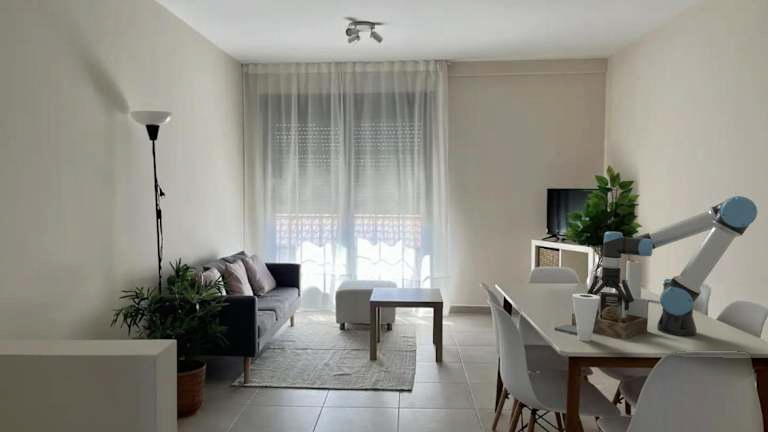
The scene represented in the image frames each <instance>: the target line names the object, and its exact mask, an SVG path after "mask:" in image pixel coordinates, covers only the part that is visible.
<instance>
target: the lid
mask: <svg viewBox="0 0 768 432" xmlns="http://www.w3.org/2000/svg"><path fill="white" fill-rule="evenodd" d="M597 296H599V293H598V294H597ZM633 299H634V302H630V303H629V310H627V314H629V315H634V316H639V317H644V318H648V319H649V299H647V298H642V297H641V298H635V297H633ZM622 303H624V301H623V299H622Z"/></svg>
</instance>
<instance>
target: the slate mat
mask: <svg viewBox="0 0 768 432" xmlns="http://www.w3.org/2000/svg"><path fill="white" fill-rule="evenodd" d="M554 331H557V332H558V331H559V332H563V333H567V334H570V335H576V336H577V335H578V333H577V326H573V325H572V324H570V323H567V324H563V325H559V326H556V327H554Z"/></svg>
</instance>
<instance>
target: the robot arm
mask: <svg viewBox="0 0 768 432" xmlns="http://www.w3.org/2000/svg"><path fill="white" fill-rule="evenodd" d="M757 215H758V207H757V205H756V204H755V203H754V201H753V200H752V199H750V198H749V197H745V196H743V195H742V196H741V195H740V196H739V195H737V196H736V195H735V196H732V197H730V198H727V199H726V200H724V201H722V202H721V203H718V204H717V205H714V206H711V207H710V209H709V210H707V211H705V212H701V213H699V214H695V215H693V216H691V217H688V218H685V219H683V220H679V221H677V222H674V223H672V224H669V225H666V226H663V227H660V228H657V229H656V230H652V231H649V232H648V233H647V232H646V233H644V234H641V235H640V234H639V235H637V236H635V237H627V236H623V235H624V234H623V233H622V232H619V231H606V232H604V236H603V241H602V242H603V247H602V248H603V249H602V268H601V275H600V274H598V275H595V276H594V279H593V281H592V283H591V285H590V287H589V289H588V290H587V293H586V294H592V295H597V294H598V293H599V292H602V290H604V288H610V289H614V290H615V291H616V293H619V295H620V296H621V298H622V299H623V301H624V303H622V318H625V317H626V314H627V310H629V303H630V302H634V299H633V297H632V294H631V292H630V289H629V287H628V283H627V280H626V279H621V272H622V271H621V266H622V255H630V256H639V257H651V256H652V255H653V251H654V250H656V249H658V248H662V247H663V246H667V245H669V244H671V243H675V242H678V241H680V240H681V241H682V240H684V239H687V238H689V237H692V236H693V237H694V236H696V235H698V234H702V233H703V232H708V231H709V232H708V233H707V234H706V236H705V237H704V239H703V240H702V242H701V243H700V245H699V246H698V248H697V249H696V250H695V252H694V253H693V255H692V256H691V258H690V259H689V261H688V262H687V263H686V265H685V266H684V268H683V269H682V271H681V272H680V274H678V275H675V276H673V277H672V278H665V279H664V280H663V284H662V285H663V289H662V290H663V291H662V293H661V294H660V297H659V302H660V306H661V307H662V312H661V315H660V316H659V317H660V318H659V319H658V322H657V327H656V328H657V331H659V332H662V333H665V334H669V335H675V336H683V337H685V336H687V337H688V336H689V337H690V336H696V335H697V327H696V323H695V319H694V316H693V313H694V311H693V310H694V303H695V302H696V301H697V299H698V297H700V295H701V294H702V290H701V286H702V285H703V284H704V282H705V281H706V279H707V278H708V277H709V275H710V274H711V272H712V271H713V269H714V268H715V267H716V265H717V264H718V262H719V261H720V260H721V258H722V256H723V255H724V254H725V252H726V250H728V249H729V246H730V245H731V244H732V242H733V241H734V240H735V238H738V237H742V236H743V234H744V233H745V231H746V230H747V229H748V228H749V226H750V225H751V224H753V222H755V220H756V218H757ZM600 281H601V283H600ZM599 283H600V284H599ZM598 284H599V285H598ZM620 284H621V285H622V286H621V285H620ZM596 287H597V288H596ZM622 288H623V289H622ZM625 294H626V295H625Z"/></svg>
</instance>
